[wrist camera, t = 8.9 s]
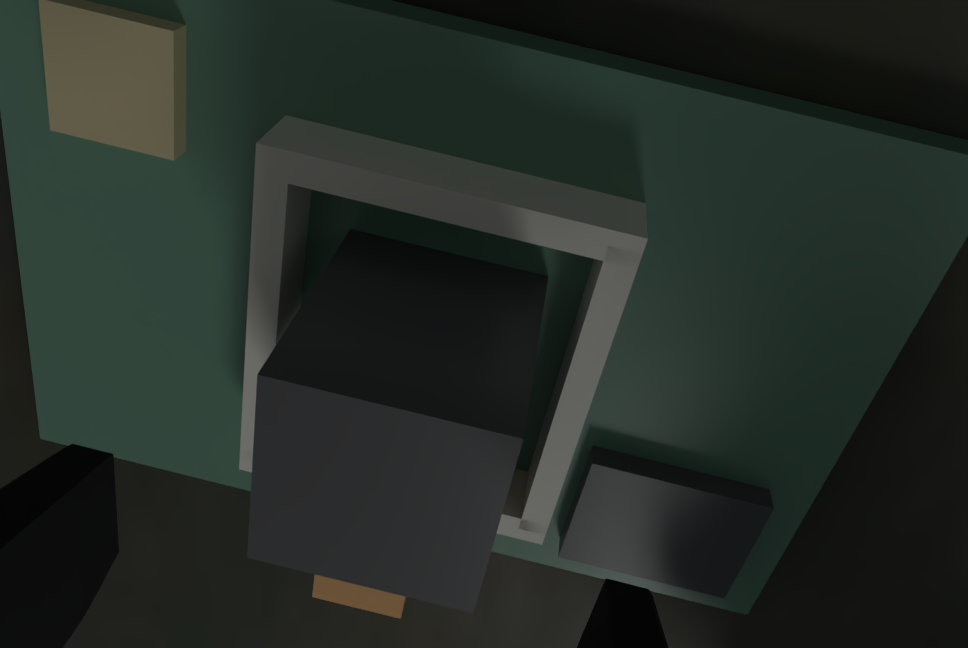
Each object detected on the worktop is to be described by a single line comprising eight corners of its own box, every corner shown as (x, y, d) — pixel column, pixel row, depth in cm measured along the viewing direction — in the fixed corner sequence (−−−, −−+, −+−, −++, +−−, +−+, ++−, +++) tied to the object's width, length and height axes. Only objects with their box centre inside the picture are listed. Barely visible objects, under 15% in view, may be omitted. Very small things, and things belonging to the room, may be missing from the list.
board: (987, 145, 15) (1047, 200, 13) (742, 583, 21) (755, 667, 19) (12, -93, 15) (-87, -76, 13) (62, 413, 22) (2, 479, 19)
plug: (548, 276, 16) (523, 438, 12) (501, 449, 19) (466, 635, 15) (350, 228, 16) (257, 373, 12) (329, 407, 19) (246, 581, 15)
